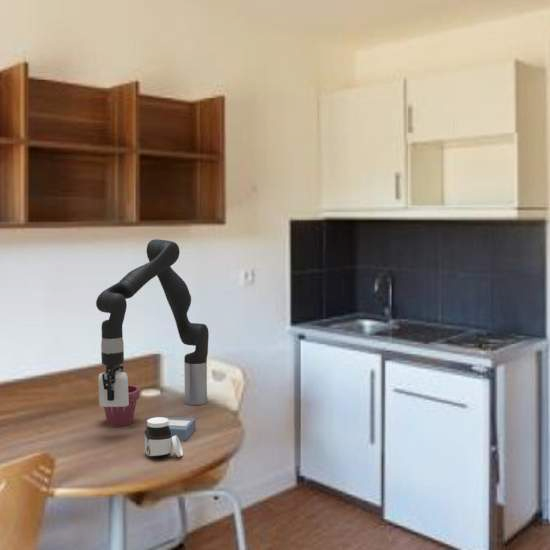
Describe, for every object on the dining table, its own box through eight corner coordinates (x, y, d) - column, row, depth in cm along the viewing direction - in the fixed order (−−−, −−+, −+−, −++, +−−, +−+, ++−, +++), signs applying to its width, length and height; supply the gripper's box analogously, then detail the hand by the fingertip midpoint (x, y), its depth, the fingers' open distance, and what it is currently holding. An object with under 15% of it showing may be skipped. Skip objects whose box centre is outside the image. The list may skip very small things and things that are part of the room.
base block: (158, 427, 242) (158, 416, 242) (195, 429, 240) (195, 418, 240) (146, 439, 229) (146, 427, 229) (185, 441, 227) (185, 429, 227)
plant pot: (92, 425, 245) (91, 391, 244) (117, 415, 257) (117, 382, 256) (122, 430, 238) (122, 395, 237) (147, 420, 251) (146, 387, 250)
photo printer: (97, 407, 229) (96, 372, 228) (100, 404, 233) (99, 369, 232) (127, 407, 229) (126, 372, 228) (130, 404, 233) (129, 369, 232)
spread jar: (141, 452, 216) (141, 417, 215) (174, 447, 221) (174, 413, 221) (154, 464, 206) (153, 428, 205) (188, 458, 211) (187, 422, 210)
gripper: (110, 345, 237) (111, 392, 238) (93, 354, 222) (95, 403, 224) (130, 346, 236) (131, 393, 237) (115, 354, 221) (116, 404, 223)
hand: (113, 398), depth 231 cm, fingers closed on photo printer, 4 cm apart
